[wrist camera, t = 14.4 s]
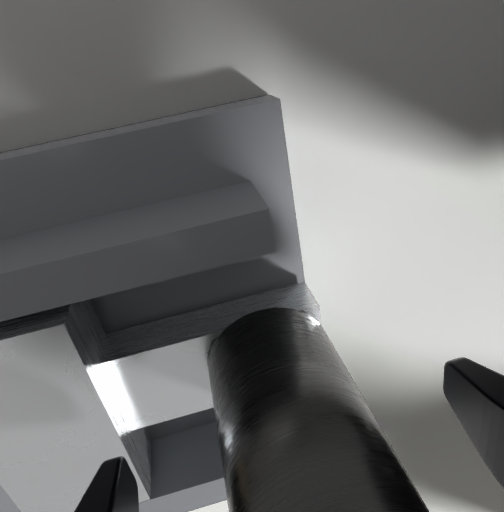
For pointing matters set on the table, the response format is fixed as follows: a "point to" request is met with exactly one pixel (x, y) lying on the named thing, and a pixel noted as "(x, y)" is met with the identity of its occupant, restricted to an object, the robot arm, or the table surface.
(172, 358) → the ram
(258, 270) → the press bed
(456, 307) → the table surface
